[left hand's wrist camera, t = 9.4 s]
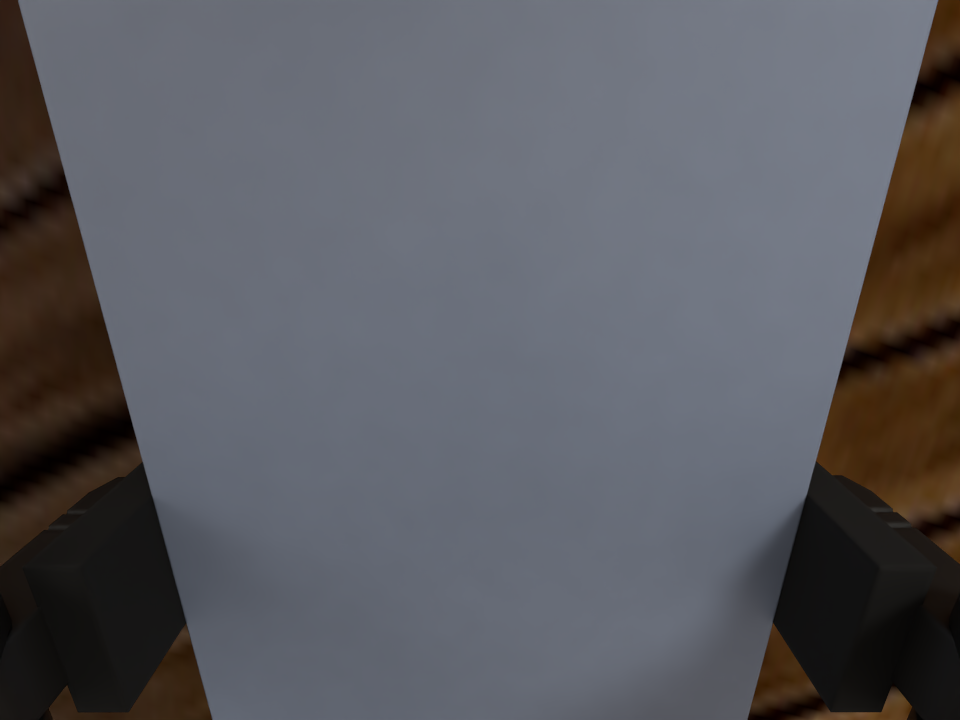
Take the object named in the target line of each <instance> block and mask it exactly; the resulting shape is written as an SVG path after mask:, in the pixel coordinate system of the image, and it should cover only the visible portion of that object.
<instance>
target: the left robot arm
mask: <svg viewBox="0 0 960 720" xmlns="http://www.w3.org/2000/svg"><path fill="white" fill-rule="evenodd" d="M773 623H774V625H775V626H776V628H777V629H778V631H779V632H780V634H781V635H782V637H783V639H784V640H785V642H786V643H787V645H788V646H789V648H790V649H791V651H792V653H793V654H794V656H795V657H796V659H797V660H798V662H799V663H800V665H801V667H802V668H803V670H804V671H805V673H806V674H807V676H808V677H809V679H810V681H811V682H812V684H813V685H814V687H815V688H816V690H817V691H818V693H819V694H820V696H821V698H822V699H823V701H824V702H825V704H826V705H827V707H828V708H829V710H830V712H882V709H883V706H884V704H885V701H886V699H887V696H888V693H889V691H890V688H891V686H892V683H894V684H895V685H896V687H897V688H898V689H899V690H900V692H901V693H902V694H903V695H904V697H905V698H906V699H907V700H908V702H909V703H910V704H911V705H912V709H911V711H910V714H909V716H908V718H907V720H960V564H959V563H958V562H956V561H955V560H954V559H953V558H951V557H950V556H949V555H948V554H947V553H945V552H944V551H943V550H942V549H941V548H939V547H938V546H937V545H936V544H935V543H933V542H932V541H931V540H930V539H929V538H927V537H926V536H925V535H924V534H922V533H921V532H920V531H919V530H918V529H916V528H912V527H911V524H910V523H909V522H908V521H907V520H906V519H904V518H903V517H902V516H901V515H900V514H898V513H897V512H893V509H892V508H891V507H890V506H889V505H887V504H886V503H885V502H884V501H883V500H881V499H880V498H879V497H878V496H877V495H875V494H874V493H873V492H872V491H870V490H868V489H867V488H865V487H863V486H861V485H859V484H857V483H855V482H853V481H851V480H850V479H848V478H846V477H844V476H842V475H831V474H830V473H829V472H828V471H826V470H825V469H824V468H823V467H822V466H821V465H820V464H818V463H817V462H815V466H814V469H813V473H812V477H811V481H810V485H809V488H808V492H807V496H806V500H805V503H804V507H803V511H802V515H801V518H800V522H799V526H798V530H797V534H796V537H795V541H794V545H793V549H792V552H791V556H790V560H789V564H788V567H787V571H786V575H785V579H784V583H783V586H782V590H781V594H780V598H779V601H778V605H777V609H776V613H775V616H774V620H773ZM185 624H186V620H185V616H184V612H183V609H182V605H181V601H180V597H179V594H178V590H177V586H176V583H175V579H174V575H173V572H172V568H171V564H170V560H169V557H168V553H167V549H166V546H165V542H164V538H163V535H162V531H161V527H160V523H159V520H158V516H157V512H156V509H155V505H154V501H153V498H152V494H151V490H150V486H149V483H148V479H147V475H146V472H145V468H144V464H143V462H142V463H141V464H140V465H139V466H138V467H136V468H135V469H134V470H133V471H132V472H131V473H130V474H128V475H127V476H126V477H118V478H116V479H114V480H112V481H110V482H108V483H106V484H104V485H103V486H101V487H99V488H97V489H95V490H93V491H91V492H89V493H88V494H87V495H86V496H84V497H83V498H82V499H81V500H80V501H78V502H77V503H76V504H75V505H74V506H72V507H71V508H70V509H69V510H68V511H67V514H63V515H62V516H60V517H59V518H58V519H57V520H56V521H54V522H53V523H52V524H51V525H50V526H49V529H48V530H44V531H42V532H41V533H40V534H39V535H38V536H36V537H35V538H34V539H33V540H32V541H30V542H29V543H28V544H27V545H26V546H24V547H23V548H22V549H21V550H20V551H18V552H17V553H16V554H15V555H14V556H12V557H11V558H10V559H9V560H8V561H6V562H5V563H4V564H3V565H2V566H0V720H53V719H52V716H51V714H50V711H49V709H48V708H49V707H50V705H51V704H52V703H53V701H54V700H55V699H56V698H57V696H58V695H59V694H60V693H61V691H62V690H63V689H64V688H65V686H66V685H68V688H69V690H70V693H71V695H72V698H73V701H74V703H75V706H76V708H77V711H78V712H129V711H130V709H131V708H132V706H133V704H134V703H135V701H136V700H137V698H138V697H139V695H140V694H141V692H142V690H143V689H144V687H145V686H146V684H147V683H148V681H149V680H150V678H151V676H152V675H153V673H154V672H155V670H156V669H157V667H158V666H159V664H160V662H161V661H162V659H163V658H164V656H165V655H166V653H167V652H168V650H169V648H170V647H171V645H172V644H173V642H174V641H175V639H176V638H177V636H178V634H179V633H180V631H181V630H182V628H183V627H184V625H185Z"/></svg>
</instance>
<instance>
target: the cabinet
mask: <svg viewBox="0 0 960 720" xmlns="http://www.w3.org/2000/svg"><path fill="white" fill-rule="evenodd" d="M18 2H19V6H20V9H21V13H22V17H23V20H24V24H25V28H26V31H27V35H28V39H29V43H30V46H31V50H32V54H33V57H34V61H35V65H36V68H37V72H38V76H39V80H40V83H41V87H42V91H43V94H44V98H45V102H46V105H47V109H48V113H49V117H50V120H51V124H52V128H53V131H54V135H55V139H56V142H57V146H58V150H59V154H60V157H61V161H62V165H63V168H64V172H65V176H66V179H67V183H68V187H69V191H70V194H71V198H72V202H73V205H74V209H75V213H76V216H77V220H78V224H79V228H80V231H81V235H82V239H83V242H84V246H85V250H86V253H87V257H88V261H89V265H90V268H91V272H92V276H93V279H94V283H95V287H96V290H97V294H98V298H99V302H100V305H101V309H102V313H103V316H104V320H105V324H106V327H107V331H108V335H109V339H110V342H111V346H112V350H113V353H114V357H115V361H116V364H117V368H118V372H119V376H120V379H121V383H122V387H123V390H124V394H125V398H126V401H127V405H128V409H129V412H130V416H131V420H132V424H133V427H134V431H135V435H136V438H137V442H138V446H139V449H140V453H141V457H142V461H143V464H144V468H145V472H146V475H147V479H148V483H149V486H150V490H151V494H152V498H153V501H154V505H155V509H156V512H157V516H158V520H159V523H160V527H161V531H162V535H163V538H164V542H165V546H166V549H167V553H168V557H169V560H170V564H171V568H172V572H173V575H174V579H175V583H176V586H177V590H178V594H179V597H180V601H181V605H182V609H183V612H184V616H185V620H186V623H187V627H188V631H189V634H190V638H191V642H192V646H193V649H194V653H195V657H196V660H197V664H198V668H199V671H200V675H201V679H202V683H203V686H204V690H205V694H206V697H207V701H208V705H209V708H210V712H211V716H212V720H747V718H748V714H749V711H750V707H751V703H752V699H753V696H754V692H755V688H756V684H757V681H758V677H759V673H760V669H761V665H762V662H763V658H764V654H765V650H766V647H767V643H768V639H769V635H770V632H771V628H772V624H773V620H774V616H775V613H776V609H777V605H778V601H779V598H780V594H781V590H782V586H783V583H784V579H785V575H786V571H787V567H788V564H789V560H790V556H791V552H792V549H793V545H794V541H795V537H796V534H797V530H798V526H799V522H800V518H801V515H802V511H803V507H804V503H805V500H806V496H807V492H808V488H809V485H810V481H811V477H812V473H813V469H814V466H815V462H816V458H817V454H818V451H819V447H820V443H821V439H822V435H823V432H824V428H825V424H826V420H827V417H828V413H829V409H830V405H831V402H832V398H833V394H834V390H835V386H836V383H837V379H838V375H839V371H840V368H841V364H842V360H843V356H844V353H845V349H846V345H847V341H848V337H849V334H850V330H851V326H852V322H853V319H854V315H855V311H856V307H857V304H858V300H859V296H860V292H861V288H862V285H863V281H864V277H865V273H866V270H867V266H868V262H869V258H870V255H871V251H872V247H873V243H874V239H875V236H876V232H877V228H878V224H879V221H880V217H881V213H882V209H883V206H884V202H885V198H886V194H887V190H888V187H889V183H890V179H891V175H892V172H893V168H894V164H895V160H896V157H897V153H898V149H899V145H900V141H901V138H902V134H903V130H904V126H905V123H906V119H907V115H908V111H909V108H910V104H911V100H912V96H913V92H914V89H915V85H916V81H917V77H918V74H919V70H920V66H921V62H922V59H923V55H924V51H925V47H926V43H927V40H928V36H929V32H930V28H931V25H932V21H933V17H934V13H935V9H936V6H937V2H938V0H18Z"/></svg>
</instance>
